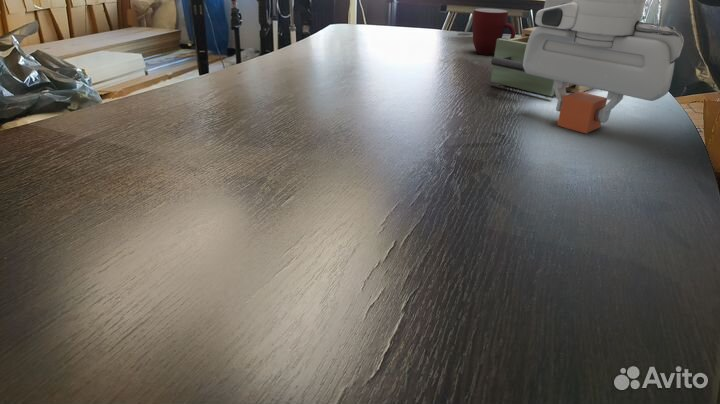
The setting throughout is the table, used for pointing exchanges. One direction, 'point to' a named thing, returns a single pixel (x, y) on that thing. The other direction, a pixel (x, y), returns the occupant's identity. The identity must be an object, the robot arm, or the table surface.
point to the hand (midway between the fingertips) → (580, 116)
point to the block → (580, 111)
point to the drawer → (517, 68)
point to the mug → (489, 29)
